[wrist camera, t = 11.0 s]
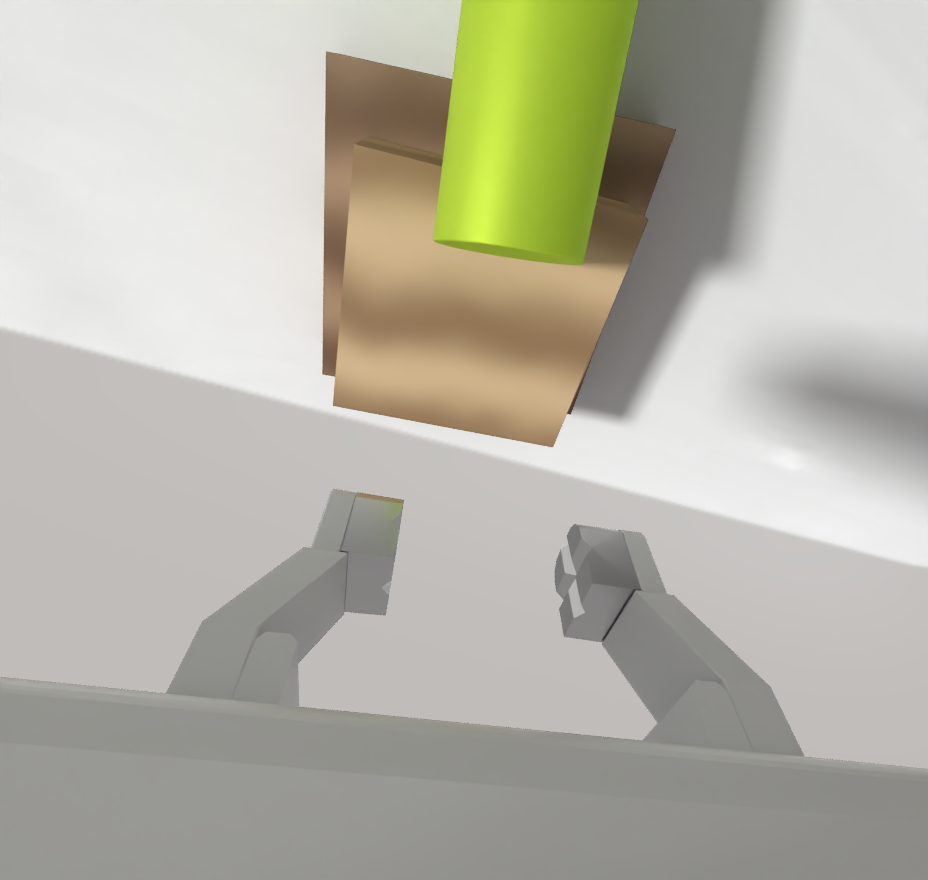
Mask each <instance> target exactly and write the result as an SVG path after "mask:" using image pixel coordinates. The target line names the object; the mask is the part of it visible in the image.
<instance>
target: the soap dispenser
mask: <svg viewBox="0 0 928 880" xmlns="http://www.w3.org/2000/svg"><path fill="white" fill-rule="evenodd" d="M638 2H639V0H462V5H461V14H460V22H459V30H458V38H457V47H456V55H455V63H454V72H453V80H452V88H451V96H450V105H449V113H448V121H447V130H446V138H445V146H444V154H443V163H442V171H441V179H440V188H439V196H438V204H437V212H436V221H435V229H434V237H433V240H434V242H436V243H439V244H442V245H445V246H449V247H453V248H458V249H463V250H468V251H473V252H478V253H484V254H489V255H495V256H501V257H508V258H514V259H521V260H528V261H536V262H544V263H553V264H564V265H581V264H583V262H584V258H585V253H586V249H587V244H588V239H589V234H590V230H591V225H592V220H593V215H594V211H595V206H596V201H597V196H598V192H599V187H600V182H601V177H602V173H603V168H604V163H605V159H606V154H607V149H608V144H609V140H610V135H611V130H612V125H613V121H614V116H615V111H616V106H617V102H618V97H619V92H620V88H621V83H622V78H623V73H624V69H625V64H626V59H627V54H628V50H629V45H630V40H631V35H632V31H633V26H634V21H635V17H636V12H637V7H638Z"/></svg>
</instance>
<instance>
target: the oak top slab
mask: <svg viewBox="0 0 928 880" xmlns="http://www.w3.org/2000/svg"><path fill="white" fill-rule="evenodd" d="M442 163H443V155H439V154H435V153H431V152H427V151H423V150H420V149H416V148H412V147H408V146H404V145H400V144H396V143H393V142H389V141H385V140H381V139H377V138H373V137H369V136H368V137H366V138H364V139H362V140H360V141H359V142H357V143H355V144H354V152H353V164H352V176H351V189H350V201H349V213H348V226H347V238H346V251H345V263H344V275H343V288H342V300H341V313H340V325H339V337H338V350H337V362H336V375H335V387H334V399H333V406H337V407H342V408H348V409H353V410H358V411H364V412H369V413H374V414H379V415H385V416H390V417H395V418H401V419H406V420H411V421H416V422H422V423H427V424H432V425H438V426H443V427H448V428H453V429H459V430H464V431H469V432H475V433H480V434H485V435H490V436H496V437H501V438H506V439H512V440H517V441H522V442H527V443H533V444H538V445H543V446H549V447H553V446H554V443H555V441H556V439H557V436H558V434H559V431H560V429H561V427H562V424H563V422H564V420H565V417H566V415H567V412H568V410H569V408H570V405H571V403H572V400H573V398H574V396H575V393H576V391H577V388H578V386H579V384H580V381H581V379H582V377H583V374H584V372H585V369H586V367H587V365H588V362H589V360H590V357H591V355H592V353H593V350H594V348H595V345H596V343H597V341H598V338H599V336H600V334H601V331H602V329H603V326H604V324H605V322H606V319H607V317H608V314H609V312H610V310H611V307H612V305H613V303H614V300H615V298H616V295H617V293H618V291H619V288H620V286H621V283H622V281H623V279H624V276H625V274H626V271H627V269H628V267H629V264H630V262H631V260H632V257H633V255H634V252H635V250H636V248H637V245H638V243H639V240H640V238H641V236H642V233H643V231H644V228H645V226H646V224H647V221H648V219H647V218H646V217H644V216H643V215H642V214H640V213H639V212H638V211H637V210H635V209H634V208H633V207H631V206H630V205H629V204H627V203H624V202H620V201H616V200H612V199H608V198H604V197H600V196H597V201H596V206H595V211H594V215H593V220H592V225H591V230H590V234H589V239H588V244H587V249H586V253H585V258H584V262H583V264H581V265H564V264H553V263H544V262H536V261H528V260H521V259H514V258H508V257H501V256H495V255H489V254H484V253H478V252H473V251H468V250H463V249H458V248H453V247H449V246H445V245H442V244H439V243H436V242H434V240H433V237H434V229H435V221H436V212H437V204H438V196H439V188H440V179H441V171H442Z"/></svg>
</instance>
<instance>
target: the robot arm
mask: <svg viewBox="0 0 928 880" xmlns="http://www.w3.org/2000/svg"><path fill="white" fill-rule="evenodd" d="M403 502H404V500H401V499H394V498H389V497H382V496H376V495H370V494H364V493H354V492H349V491H343V490H337V489H333V490H332V491H331V493H330V494H329V498H328V500H327V503H326V506H325V509H324V512H323V515H322V518H321V521H320V523H319V527H318V529H317V532H316V535H315V538H314V541H313V544H312V547H311V548H306V547H303V548H302V549H300V550H299V551H298V552H296V553H295V554H294V555H292V556H291V557H290V558H289V559H287V560H285V561H284V562H283V563H281V564H280V565H279V566H277V567H276V568H275V569H273V570H272V571H270V572H269V573H268V574H266V575H265V576H264V577H262V578H261V579H260V580H258V581H257V582H255V583H254V584H253V585H251V586H250V587H249V588H247V589H246V590H245V591H243V592H242V593H241V594H239V595H238V596H236V597H235V598H234V599H232V600H231V601H230V602H228V603H227V604H226V605H224V606H223V607H221V608H220V609H219V610H217V611H216V612H215V613H214V614H212V615H211V616H209V617H208V618H206V619H205V620H204V621H202V623H201V625H200V627H199V629H198V631H197V633H196V635H195V637H194V639H193V641H192V643H191V645H190V647H189V649H188V651H187V653H186V655H185V657H184V659H183V661H182V663H181V665H180V667H179V669H178V671H177V673H176V675H175V677H174V678H173V680H172V682H171V684H170V687H169V688H168V690H167V692H166V693H156V692H146V691H135V690H125V689H116V688H106V687H96V686H86V685H76V684H66V683H56V682H45V681H36V680H26V679H16V678H6V677H0V880H928V769H923V768H913V767H903V766H893V765H883V764H873V763H863V762H852V761H843V760H833V759H823V758H812V757H804V754H803V752H802V750H801V748H800V746H799V744H798V742H797V740H796V738H795V736H794V734H793V732H792V730H791V728H790V726H789V724H788V722H787V720H786V718H785V716H784V713H783V711H782V709H781V707H780V705H779V703H778V702H777V699H776V697H775V695H774V693H773V691H772V689H771V687H770V686H769V685H768V684H767V683H766V682H764V680H763V679H761V678H760V677H759V676H758V675H757V674H756V673H755V672H754V671H753V670H752V669H751V668H750V667H749V666H748V665H747V664H746V663H745V662H744V661H743V660H741V659H740V658H739V657H738V656H737V655H736V654H735V653H734V652H733V651H732V650H731V649H730V648H729V647H728V646H727V645H726V644H725V643H723V642H722V641H721V640H720V639H719V638H718V637H717V636H716V635H715V634H714V633H713V632H712V631H711V630H710V629H709V628H708V627H707V626H706V625H705V624H703V623H702V622H701V621H700V620H699V619H698V618H697V617H696V616H695V615H694V614H693V613H692V612H691V611H690V610H689V609H688V608H687V607H685V606H684V605H683V604H682V603H681V602H680V601H679V600H678V599H677V598H676V597H675V596H674V595H668V594H667V593H666V590H665V588H664V585H663V582H662V580H661V577H660V575H659V572H658V570H657V567H656V564H655V562H654V559H653V557H652V554H651V551H650V549H649V546H648V544H647V541H646V539H645V536H644V535H643V534H642V533H640V532H632V531H624V530H616V529H608V528H601V527H593V526H585V525H577V524H574V525H573V526H572V527H571V528H570V530H569V532H568V535H567V539H568V544H569V545H567V546H566V547H564V548H563V549H561V550H560V553H559V555H558V558H557V561H556V567H555V585H556V591H557V593H558V594H559V595H560V596H561V597H562V598H563V603H562V605H561V607H560V609H559V610H560V616H561V622H562V627H563V633H564V637H570V638H576V639H583V640H590V641H597V642H603V643H602V645H603V647H604V648H605V649H606V651H607V652H608V654H609V655H610V656H611V658H612V659H613V661H614V662H615V663H616V665H617V666H618V668H619V669H620V670H621V672H622V673H623V675H624V676H625V678H626V679H627V680H628V682H629V683H630V685H631V686H632V688H633V689H634V690H635V692H636V693H637V695H638V696H639V697H640V699H641V700H642V702H643V703H644V704H645V706H646V707H647V709H648V710H649V711H650V713H651V714H652V716H653V717H654V719H655V720H656V721H657V725H656V726H655V727H654V728H653V729H652V730H651V731H650V733H649V734H648V735H647V736H646V737H645V738H644V739H643V740H642V741H641V740H630V739H620V738H610V737H601V736H590V735H581V734H571V733H560V732H550V731H541V730H530V729H520V728H509V727H500V726H490V725H479V724H469V723H459V722H448V721H439V720H428V719H418V718H408V717H397V716H388V715H378V714H368V713H358V712H348V711H338V710H327V709H317V708H306V707H299V688H298V687H299V684H298V663H299V662H300V661H301V660H302V659H303V658H304V657H305V656H306V655H307V653H308V652H309V651H310V650H311V649H312V648H313V647H314V646H315V645H316V644H317V643H318V642H319V641H320V639H321V638H322V637H323V636H324V635H325V634H326V633H327V632H328V631H329V630H330V629H331V628H332V626H333V625H334V624H335V623H336V622H337V621H338V620H339V619H340V618H341V617H342V616H343V615H344V612H353V613H364V614H375V615H386V610H387V604H388V598H389V592H390V586H391V580H392V574H393V567H394V561H395V555H396V549H397V542H398V535H399V529H400V523H401V516H402V509H403Z"/></svg>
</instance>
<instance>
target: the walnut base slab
mask: <svg viewBox="0 0 928 880" xmlns="http://www.w3.org/2000/svg"><path fill="white" fill-rule="evenodd" d="M452 80H453V79H449V78H445V77H440V76H436V75H431V74H427V73H422V72H418V71H413V70H409V69H404V68H400V67H395V66H391V65H386V64H382V63H377V62H373V61H368V60H364V59H360V58H355V57H351V56H346V55H342V54H337V53H332V52H326V110H325V199H324V287H323V375H330V376H335V375H336V362H337V350H338V337H339V325H340V313H341V300H342V288H343V275H344V263H345V251H346V238H347V226H348V213H349V201H350V189H351V176H352V164H353V152H354V144H355V143H357V142H359V141H360V140H362V139H364V138H366V137H368V136H369V137H373V138H377V139H381V140H385V141H389V142H393V143H396V144H400V145H404V146H408V147H412V148H416V149H420V150H423V151H427V152H431V153H435V154H439V155H443V154H444V146H445V138H446V130H447V121H448V113H449V105H450V96H451V88H452ZM675 131H676V129H672V128H667V127H663V126H659V125H655V124H650V123H646V122H641V121H637V120H633V119H628V118H624V117H619V116H614V121H613V125H612V130H611V135H610V140H609V144H608V149H607V154H606V159H605V163H604V168H603V173H602V177H601V182H600V187H599V192H598V196H600V197H604V198H608V199H612V200H616V201H620V202H624V203H627V204H629V205H630V206H631V207H633V208H634V209H635V210H637V211H638V212H639V213H640V214H642V215H643V216H644V215H645V212H646V209H647V207H648V204H649V201H650V199H651V196H652V193H653V191H654V188H655V185H656V182H657V180H658V177H659V174H660V172H661V169H662V166H663V163H664V161H665V158H666V155H667V153H668V150H669V147H670V145H671V142H672V139H673V136H674V134H675ZM599 337H600V336H599ZM598 339H599V338H598ZM597 342H598V341H597ZM596 345H597V343H596ZM596 345H595V347H596ZM594 350H595V348H594ZM594 350H593V353H594ZM593 353H592V355H593ZM592 355H591V357H590V360H589V362H588V365H587V367H586V369H585V372H584V374H583V377H582V379H581V381H580V384H579V386H578V388H577V391H576V393H575V396H574V398H573V400H572V403H571V405H570V408H569V410H568V412H567V414H571V412H572V410H573V407H574V404H575V401H576V399H577V396H578V393H579V391H580V388H581V385H582V383H583V380H584V377H585V374H586V372H587V369H588V366H589V364H590V361H591V358H592Z"/></svg>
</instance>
